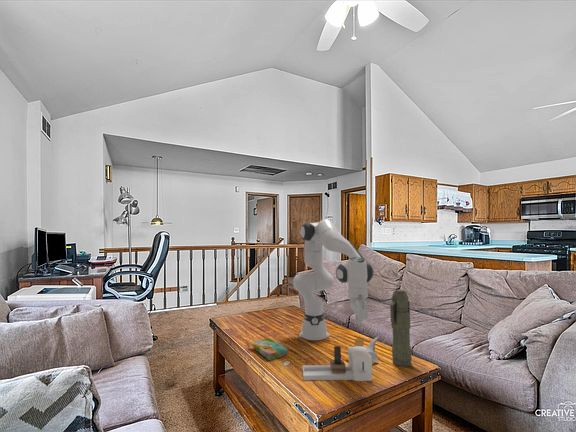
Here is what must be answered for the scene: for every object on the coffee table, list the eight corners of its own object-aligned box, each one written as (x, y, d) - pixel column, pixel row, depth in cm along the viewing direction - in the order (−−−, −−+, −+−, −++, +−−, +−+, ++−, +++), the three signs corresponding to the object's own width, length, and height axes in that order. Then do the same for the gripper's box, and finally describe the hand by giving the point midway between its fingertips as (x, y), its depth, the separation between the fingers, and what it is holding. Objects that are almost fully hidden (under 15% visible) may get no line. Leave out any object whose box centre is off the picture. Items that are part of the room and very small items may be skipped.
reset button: (354, 343, 142) (353, 338, 142) (362, 342, 142) (362, 338, 142) (355, 346, 138) (355, 341, 138) (364, 346, 138) (364, 341, 138)
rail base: (302, 368, 145) (302, 347, 146) (365, 368, 145) (365, 346, 145) (303, 382, 132) (303, 358, 133) (372, 381, 132) (372, 358, 133)
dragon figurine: (353, 351, 166) (350, 334, 166) (382, 353, 160) (379, 335, 160) (347, 365, 153) (345, 347, 153) (379, 368, 147) (376, 348, 147)
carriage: (330, 365, 143) (329, 344, 143) (343, 365, 143) (342, 344, 143) (332, 372, 136) (331, 350, 136) (345, 372, 136) (345, 350, 136)
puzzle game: (268, 352, 154) (250, 340, 171) (268, 362, 154) (250, 349, 171) (287, 347, 160) (269, 336, 177) (287, 356, 160) (269, 344, 177)
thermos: (386, 363, 150) (384, 291, 152) (401, 357, 157) (399, 288, 158) (402, 369, 143) (400, 294, 144) (417, 363, 150) (414, 291, 151)
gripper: (370, 298, 130) (371, 330, 130) (360, 288, 151) (360, 317, 150) (356, 298, 130) (356, 331, 130) (347, 288, 151) (347, 317, 150)
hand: (358, 323), depth 140 cm, fingers closed
